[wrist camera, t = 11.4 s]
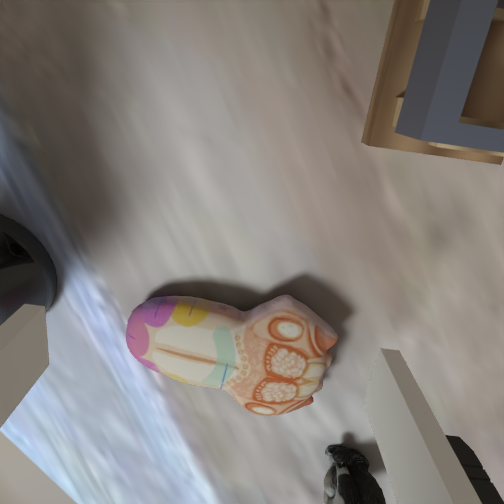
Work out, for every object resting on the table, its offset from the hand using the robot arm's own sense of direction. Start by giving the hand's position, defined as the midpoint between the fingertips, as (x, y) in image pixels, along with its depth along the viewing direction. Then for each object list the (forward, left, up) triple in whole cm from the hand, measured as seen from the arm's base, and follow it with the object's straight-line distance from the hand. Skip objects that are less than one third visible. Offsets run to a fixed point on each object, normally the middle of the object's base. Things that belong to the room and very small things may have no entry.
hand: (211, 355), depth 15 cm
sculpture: (+2, -20, -29) cm, 35 cm away
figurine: (+19, -38, -29) cm, 51 cm away
